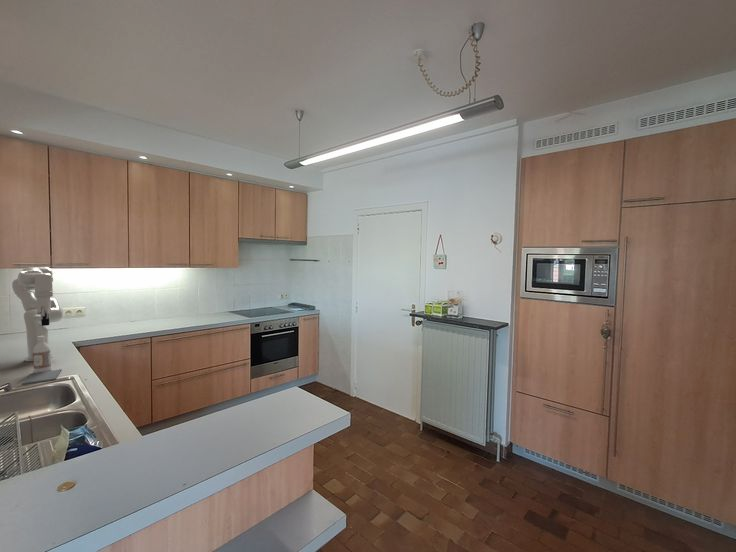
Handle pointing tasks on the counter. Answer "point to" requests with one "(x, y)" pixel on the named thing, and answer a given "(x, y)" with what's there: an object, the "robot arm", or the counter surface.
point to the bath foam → (41, 356)
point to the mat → (41, 376)
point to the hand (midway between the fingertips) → (45, 325)
